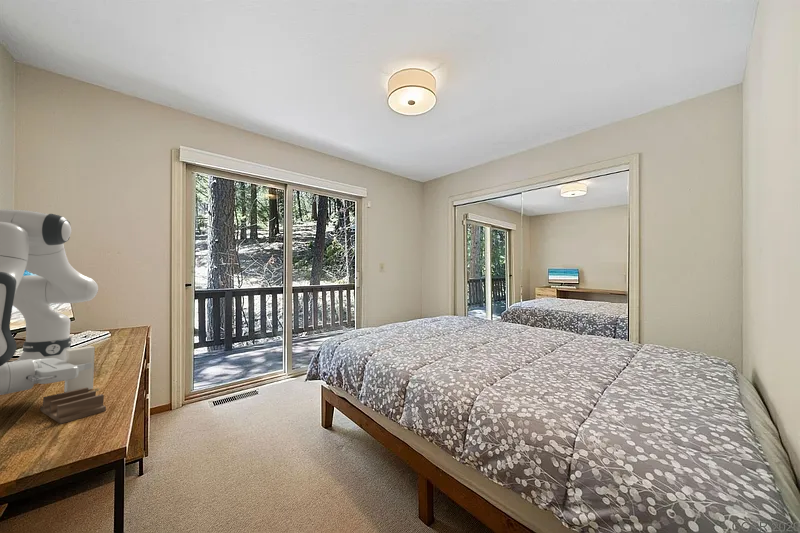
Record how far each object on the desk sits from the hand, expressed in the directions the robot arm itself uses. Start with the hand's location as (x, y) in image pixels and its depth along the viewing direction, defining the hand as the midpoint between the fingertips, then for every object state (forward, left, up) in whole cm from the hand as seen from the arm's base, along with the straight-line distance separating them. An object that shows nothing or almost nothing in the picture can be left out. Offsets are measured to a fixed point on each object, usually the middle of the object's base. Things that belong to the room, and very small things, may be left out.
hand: (87, 363), depth 100 cm
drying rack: (+15, -7, -10) cm, 19 cm away
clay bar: (-1, -1, -9) cm, 9 cm away
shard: (0, -1, -11) cm, 11 cm away
